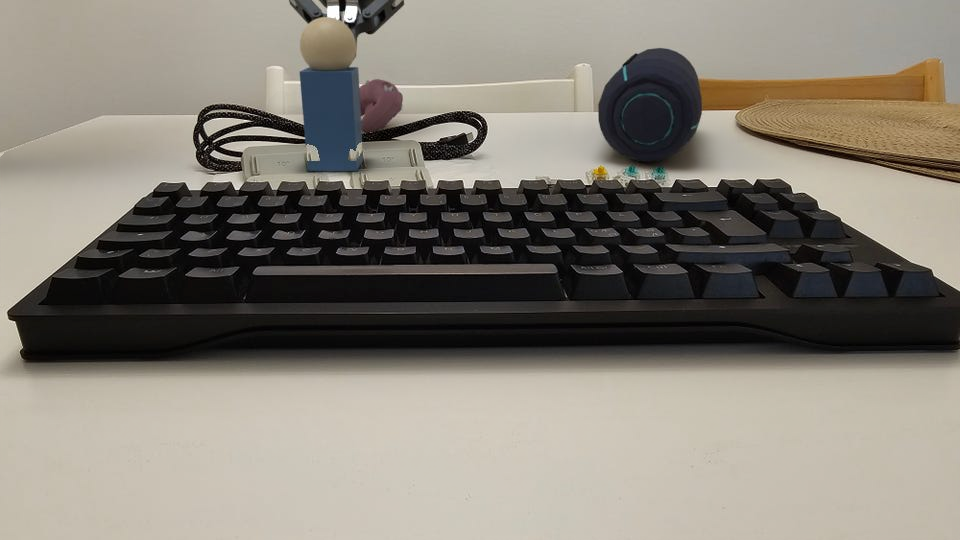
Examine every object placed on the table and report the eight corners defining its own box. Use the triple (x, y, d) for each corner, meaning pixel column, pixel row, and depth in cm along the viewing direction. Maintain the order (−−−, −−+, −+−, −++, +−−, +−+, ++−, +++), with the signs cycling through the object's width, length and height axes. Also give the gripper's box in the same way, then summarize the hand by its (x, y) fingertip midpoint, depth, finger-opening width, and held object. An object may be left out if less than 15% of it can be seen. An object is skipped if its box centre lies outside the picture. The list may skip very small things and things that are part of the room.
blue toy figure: (305, 171, 64) (291, 17, 59) (315, 160, 69) (303, 16, 64) (359, 171, 64) (350, 17, 59) (365, 160, 69) (358, 16, 64)
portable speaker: (614, 125, 90) (620, 45, 86) (693, 129, 87) (703, 47, 84) (589, 166, 67) (596, 59, 63) (696, 173, 65) (709, 63, 61)
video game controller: (392, 145, 84) (415, 91, 83) (359, 131, 81) (382, 75, 80) (364, 132, 92) (384, 83, 91) (333, 119, 89) (353, 68, 88)
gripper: (282, -95, 73) (265, 32, 66) (407, -93, 73) (403, 33, 66) (296, -37, 80) (283, 83, 73) (411, -36, 80) (408, 84, 73)
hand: (341, 59), depth 70 cm, fingers closed
